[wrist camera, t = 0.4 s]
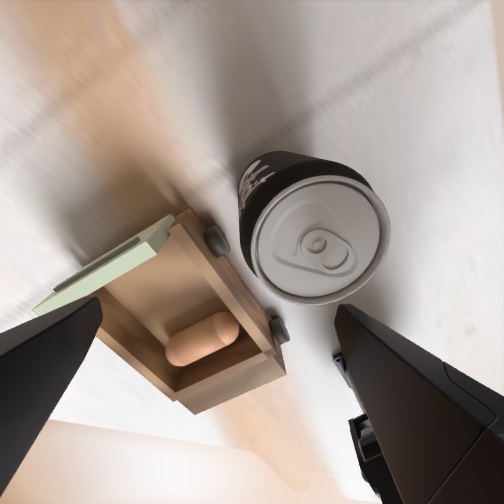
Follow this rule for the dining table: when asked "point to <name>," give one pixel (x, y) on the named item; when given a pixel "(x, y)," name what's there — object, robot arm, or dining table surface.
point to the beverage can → (310, 227)
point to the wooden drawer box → (190, 319)
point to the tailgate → (109, 266)
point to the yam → (202, 338)
